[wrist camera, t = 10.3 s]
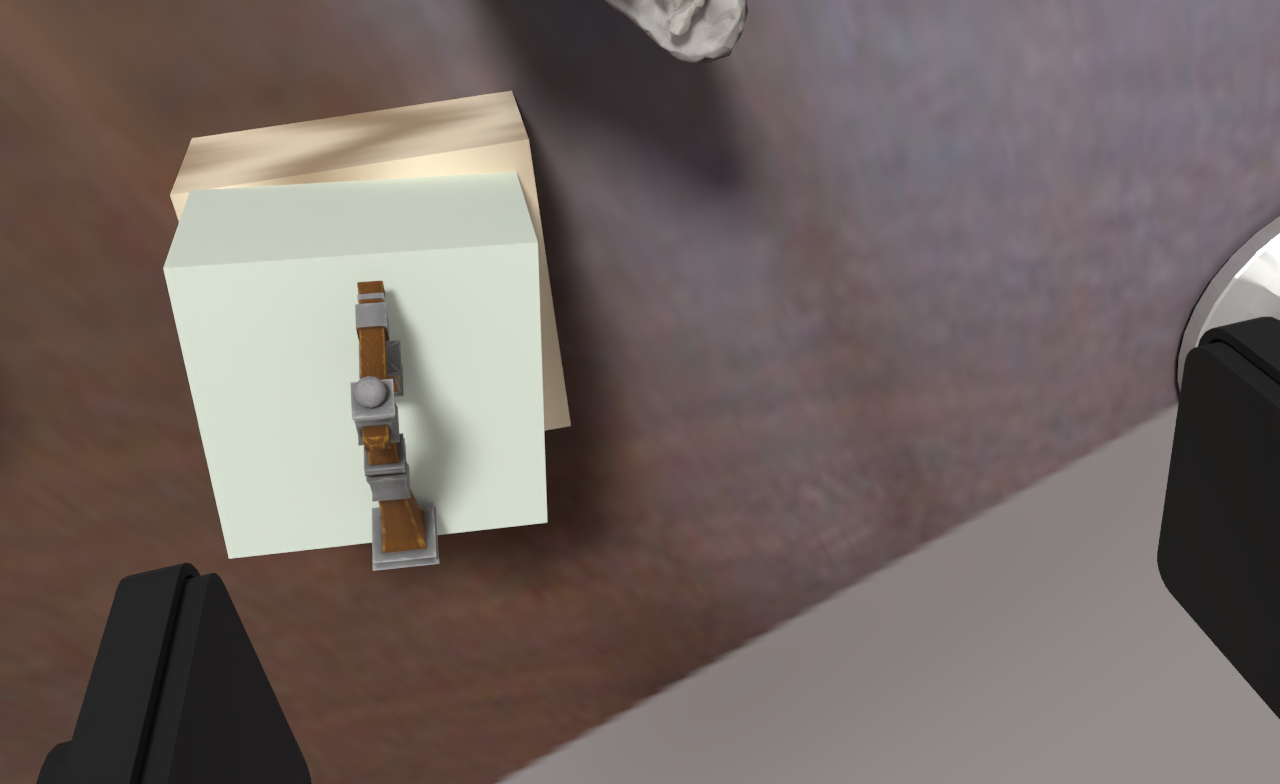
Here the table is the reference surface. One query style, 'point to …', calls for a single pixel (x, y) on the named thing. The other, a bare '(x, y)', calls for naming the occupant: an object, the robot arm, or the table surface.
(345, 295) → the top block
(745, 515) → the table surface
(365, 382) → the wooden post with brackets
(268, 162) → the bottom block
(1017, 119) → the table surface
